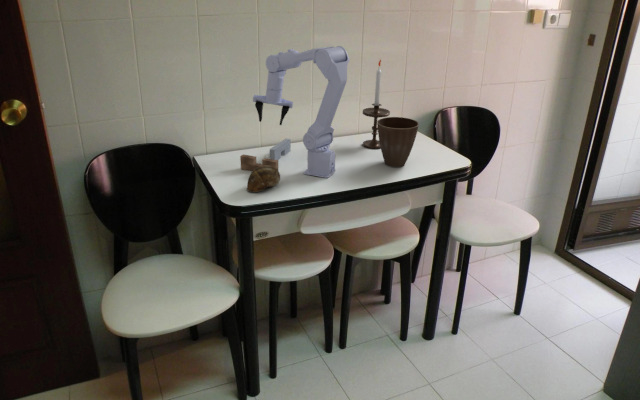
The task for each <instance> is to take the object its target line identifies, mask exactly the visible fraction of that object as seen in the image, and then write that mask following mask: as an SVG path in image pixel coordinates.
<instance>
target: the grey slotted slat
mask: <svg viewBox="0 0 640 400" xmlns="http://www.w3.org/2000/svg"><path fill="white" fill-rule="evenodd" d="M291 146H292V145H291V138H284V139H283V140H281V141H280V142H278V143H277V144H275V145H273V146H272V147H271V148H269V159H273V160H278V161H279V160H281V158H282V156H286V155H288V154H289V153H290V152H291V151H292V150H291Z"/></svg>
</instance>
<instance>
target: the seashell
mask: <svg viewBox="0 0 640 400" xmlns="http://www.w3.org/2000/svg"><path fill="white" fill-rule="evenodd" d="M278 170H279V169H278ZM278 170H277V169H276V168H275V167H273V166H269V165H264V166H263V165H262V166H259V167H257V168H256V169H255V170H253V171H251V173H250V174H249V176H248V179H247V183H246V184H247V186H246V191H247V192H251V193H257V192H261V191H263V190H265V189H266V188H272V187H275V186H277V185H278V184H279V183H280V180H281V174H280V172H279V171H278Z"/></svg>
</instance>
